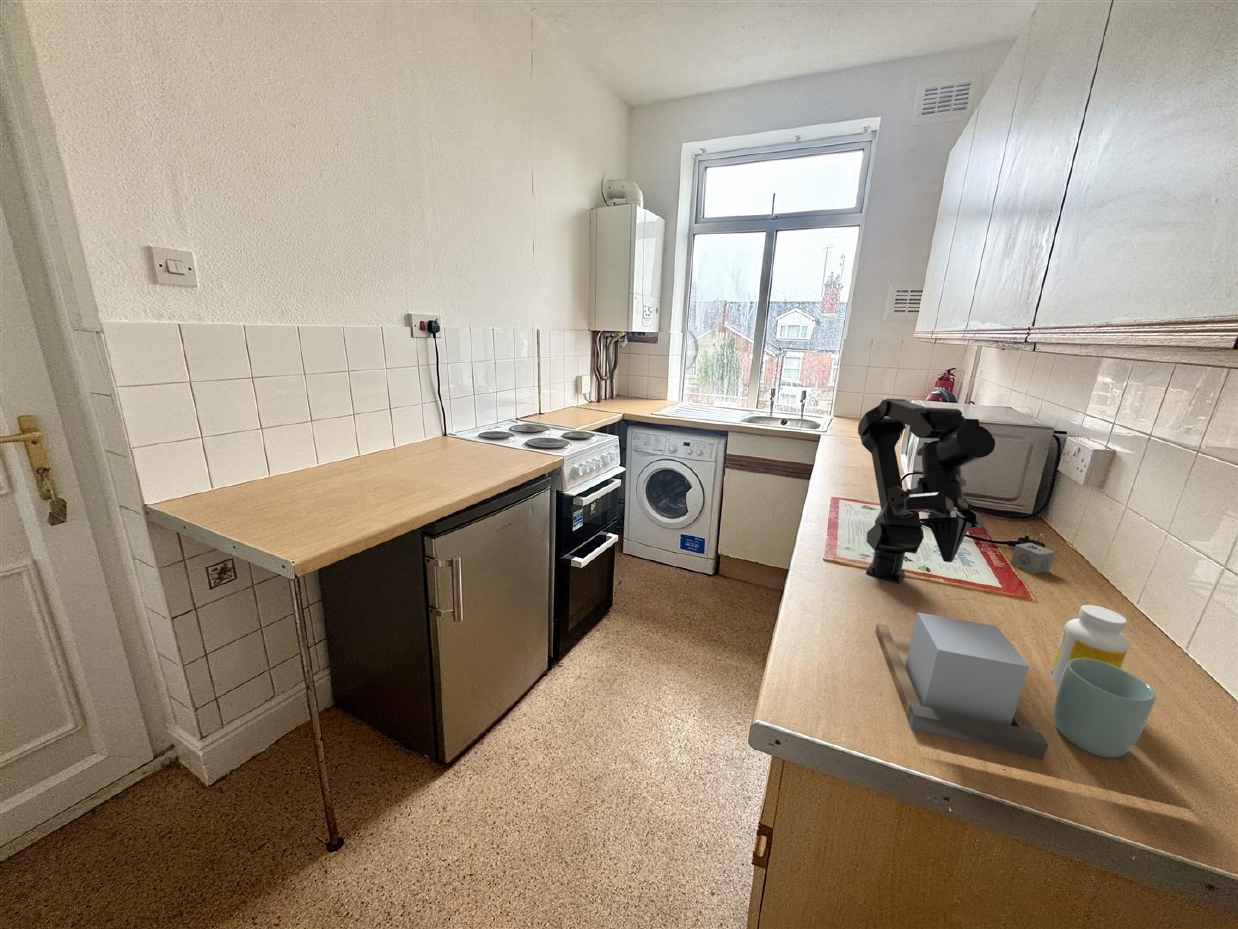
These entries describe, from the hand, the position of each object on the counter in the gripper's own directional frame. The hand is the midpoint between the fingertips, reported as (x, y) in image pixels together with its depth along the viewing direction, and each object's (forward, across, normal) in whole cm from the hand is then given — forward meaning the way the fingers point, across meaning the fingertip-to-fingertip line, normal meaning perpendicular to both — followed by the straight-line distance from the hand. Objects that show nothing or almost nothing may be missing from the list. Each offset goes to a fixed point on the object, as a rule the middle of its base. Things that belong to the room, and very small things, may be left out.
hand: (947, 561), depth 81 cm
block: (+20, +10, +3) cm, 23 cm away
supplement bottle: (+18, -9, +13) cm, 24 cm away
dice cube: (-4, -48, +1) cm, 49 cm away
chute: (+20, +8, +1) cm, 21 cm away
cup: (+24, +3, +15) cm, 28 cm away
